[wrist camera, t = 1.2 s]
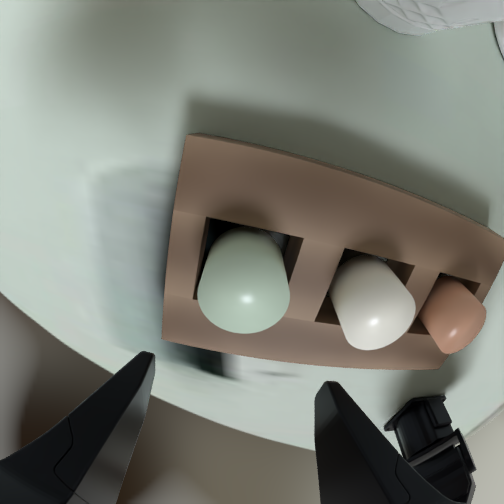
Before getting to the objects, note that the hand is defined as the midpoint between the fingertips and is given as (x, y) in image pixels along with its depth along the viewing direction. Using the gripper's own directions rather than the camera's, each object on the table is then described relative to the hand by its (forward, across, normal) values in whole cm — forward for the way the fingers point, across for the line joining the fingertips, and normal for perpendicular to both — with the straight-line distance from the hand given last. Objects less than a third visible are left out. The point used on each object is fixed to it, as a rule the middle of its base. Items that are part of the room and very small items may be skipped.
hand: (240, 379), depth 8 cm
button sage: (+8, 0, 0) cm, 8 cm away
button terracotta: (+8, -14, 0) cm, 16 cm away
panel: (+10, -7, 0) cm, 12 cm away
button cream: (+8, -7, 0) cm, 11 cm away
